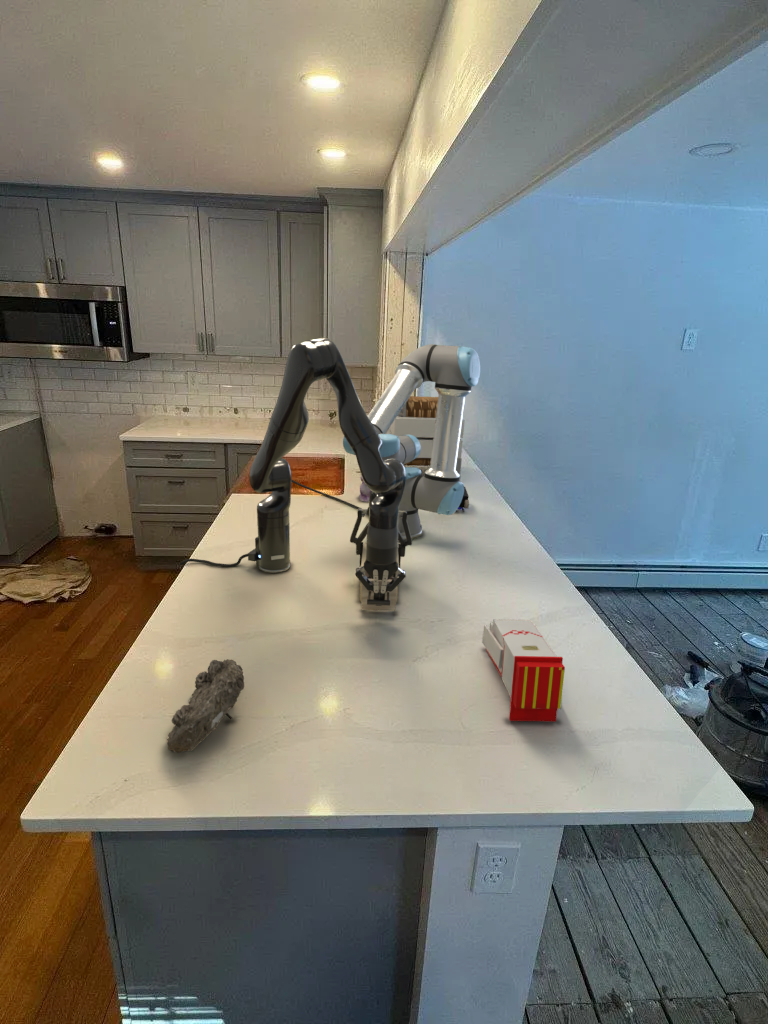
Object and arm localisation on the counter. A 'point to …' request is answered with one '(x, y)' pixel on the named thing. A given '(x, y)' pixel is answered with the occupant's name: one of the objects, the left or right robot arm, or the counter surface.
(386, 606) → the drawer
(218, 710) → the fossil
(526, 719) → the toy
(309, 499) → the counter surface
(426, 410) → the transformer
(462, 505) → the figurine character
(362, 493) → the figurine
